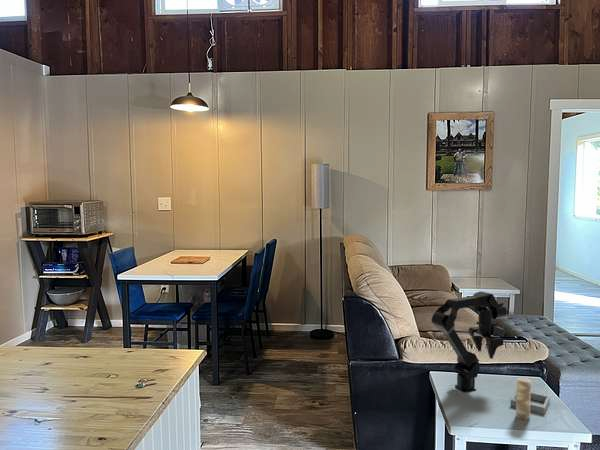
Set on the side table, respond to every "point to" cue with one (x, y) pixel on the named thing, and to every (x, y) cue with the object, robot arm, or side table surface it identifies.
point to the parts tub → (533, 407)
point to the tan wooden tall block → (523, 398)
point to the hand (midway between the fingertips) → (485, 354)
